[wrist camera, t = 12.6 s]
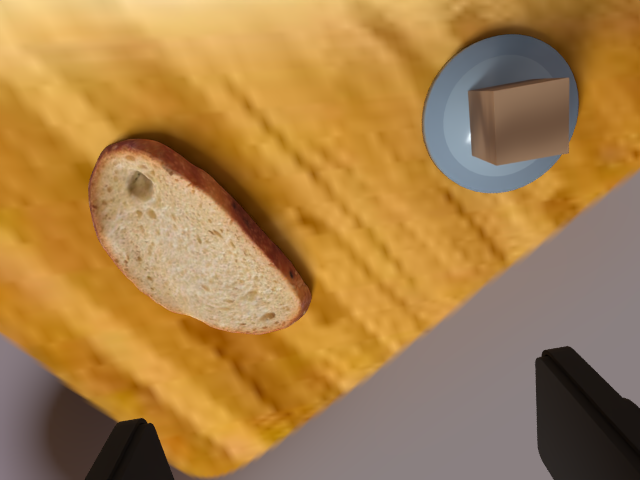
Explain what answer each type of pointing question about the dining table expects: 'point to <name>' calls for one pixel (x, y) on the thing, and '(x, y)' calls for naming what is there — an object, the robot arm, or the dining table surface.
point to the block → (520, 120)
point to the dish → (453, 108)
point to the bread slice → (190, 241)
